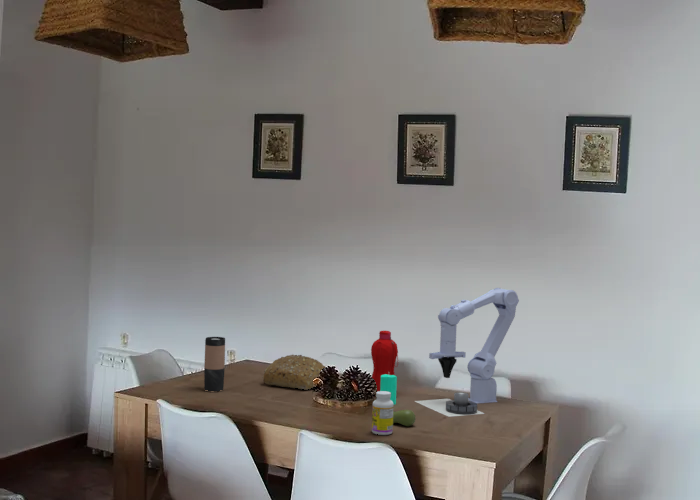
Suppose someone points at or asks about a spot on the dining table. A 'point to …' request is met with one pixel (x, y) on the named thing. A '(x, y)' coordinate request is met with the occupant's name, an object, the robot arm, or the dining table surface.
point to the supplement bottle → (382, 414)
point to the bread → (293, 372)
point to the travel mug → (214, 363)
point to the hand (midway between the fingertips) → (446, 377)
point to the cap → (461, 398)
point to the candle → (389, 385)
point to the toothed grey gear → (461, 408)
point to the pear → (404, 417)
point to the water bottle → (383, 356)
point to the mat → (441, 406)
